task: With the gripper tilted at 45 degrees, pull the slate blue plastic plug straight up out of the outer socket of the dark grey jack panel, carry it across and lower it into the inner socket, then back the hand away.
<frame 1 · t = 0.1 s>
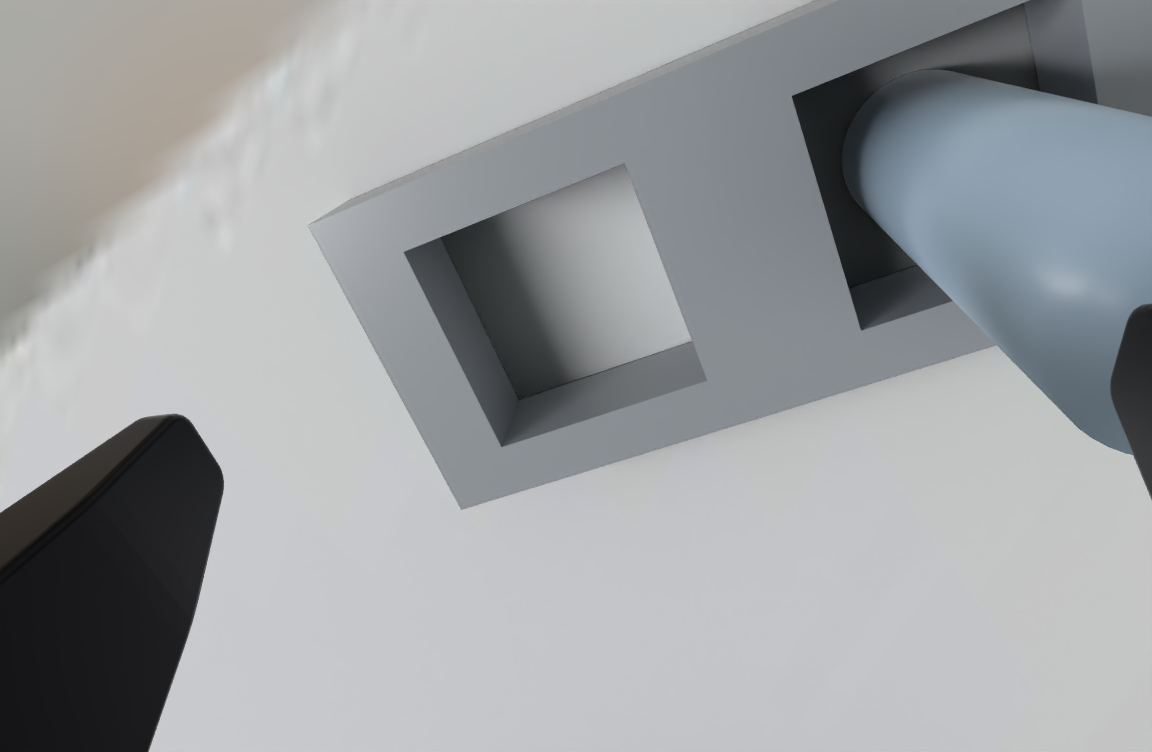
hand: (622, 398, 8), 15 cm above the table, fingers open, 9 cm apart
jack panel: (736, 219, 22), on the table
plug: (920, 150, 21), resting in jack panel
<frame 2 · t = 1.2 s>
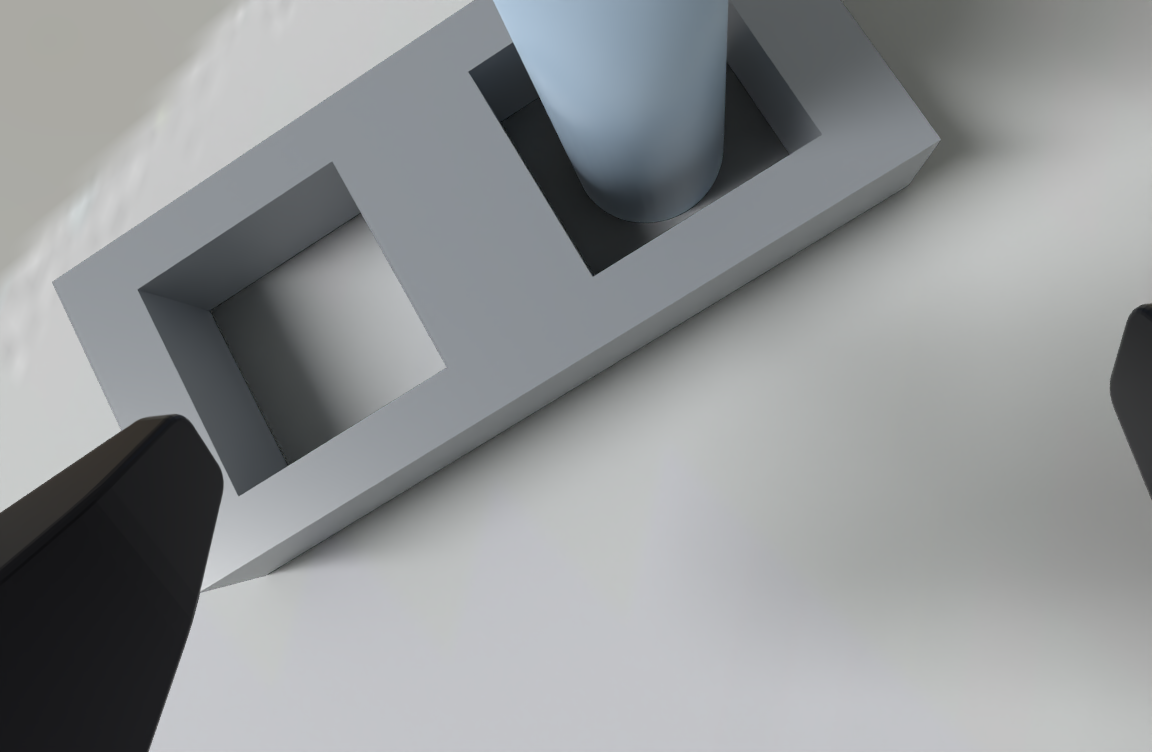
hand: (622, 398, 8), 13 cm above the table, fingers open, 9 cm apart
jack panel: (491, 249, 22), on the table
plug: (648, 150, 22), resting in jack panel
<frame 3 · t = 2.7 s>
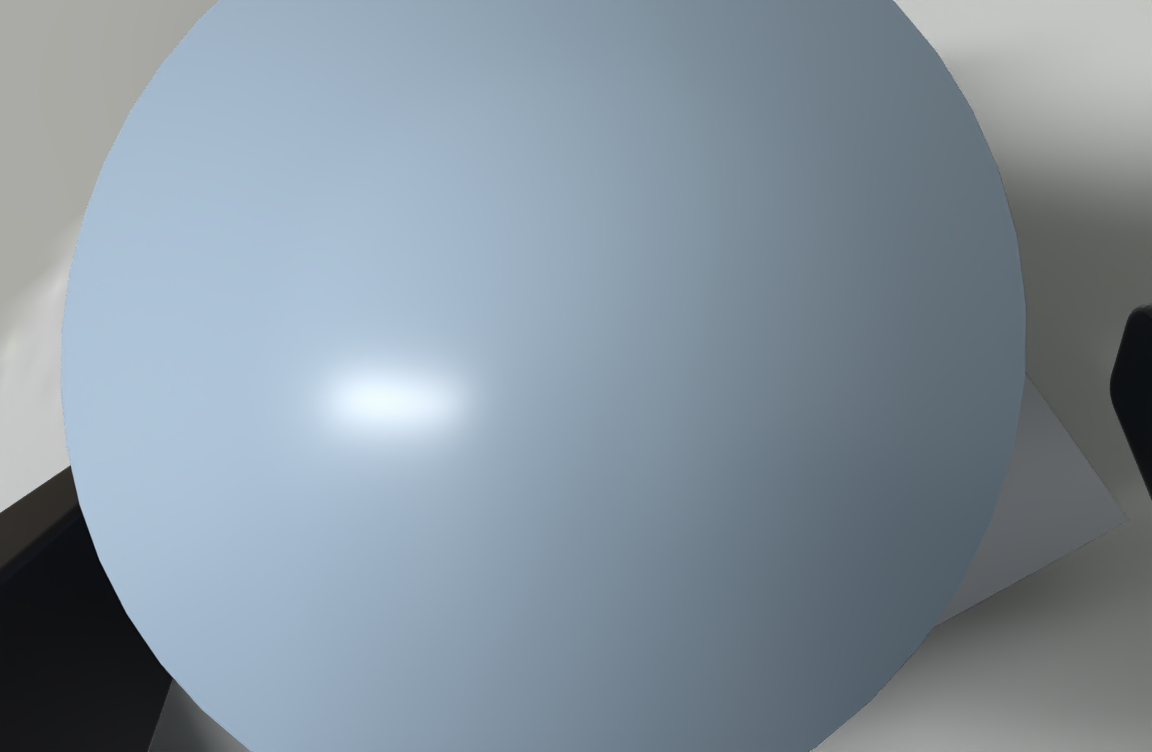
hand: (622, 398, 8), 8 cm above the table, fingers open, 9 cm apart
jack panel: (449, 563, 16), on the table
plug: (667, 433, 16), resting in jack panel
when the fingers open (8 cm above the table, at t = 8.4 s): plug drops 1 cm, resting in jack panel.
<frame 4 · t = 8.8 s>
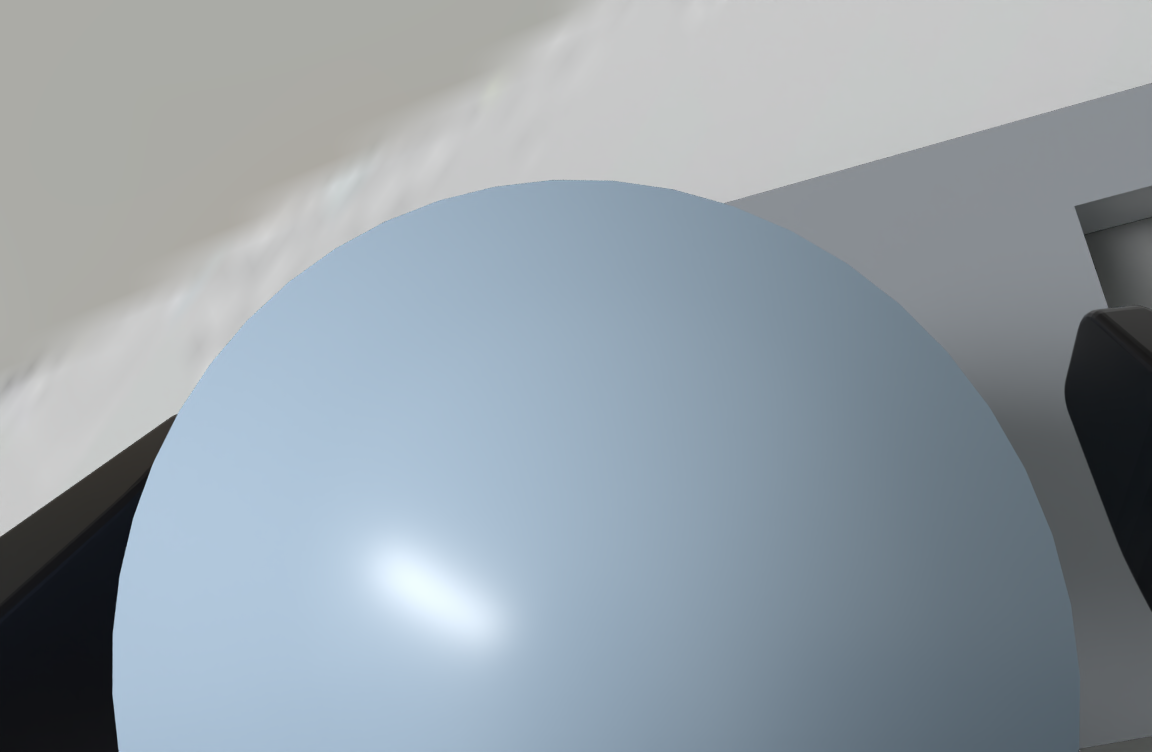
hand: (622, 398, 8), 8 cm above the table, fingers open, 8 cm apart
jack panel: (940, 438, 15), on the table
plug: (675, 500, 16), resting in jack panel
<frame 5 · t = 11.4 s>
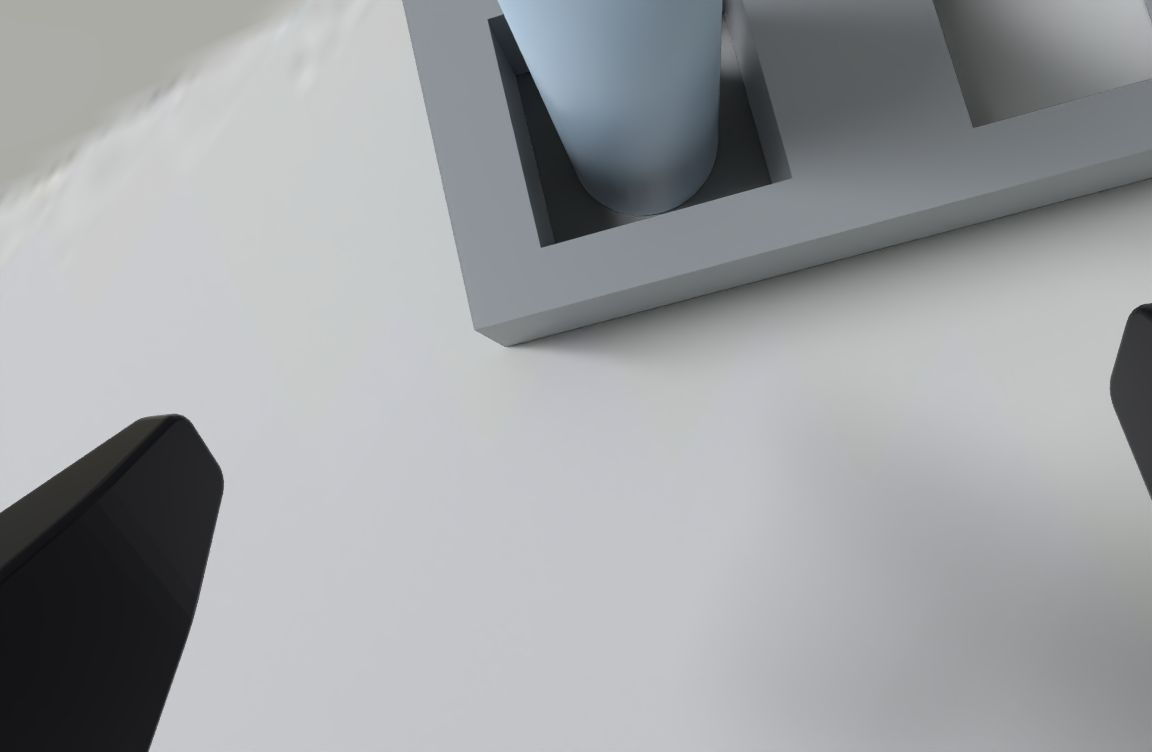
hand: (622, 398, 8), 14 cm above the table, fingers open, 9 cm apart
jack panel: (826, 90, 22), on the table
plug: (643, 144, 22), resting in jack panel
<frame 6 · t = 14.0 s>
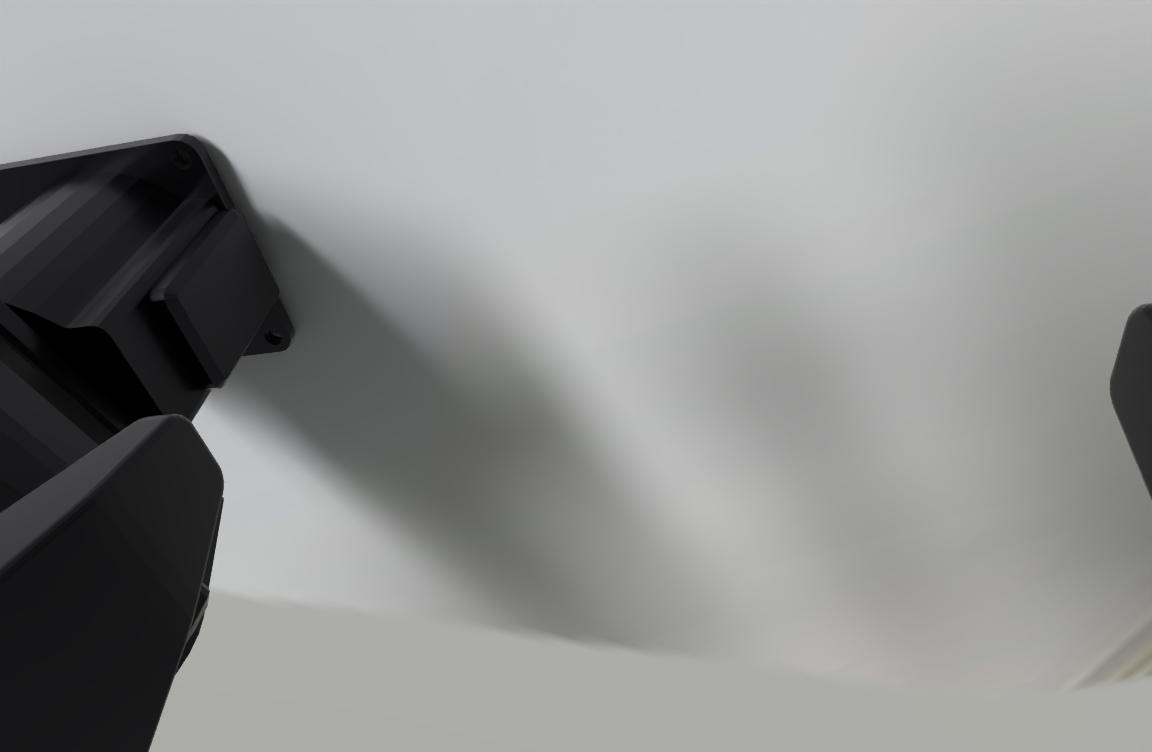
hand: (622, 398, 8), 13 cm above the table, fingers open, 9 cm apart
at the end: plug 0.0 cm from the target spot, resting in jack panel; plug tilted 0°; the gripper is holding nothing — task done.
